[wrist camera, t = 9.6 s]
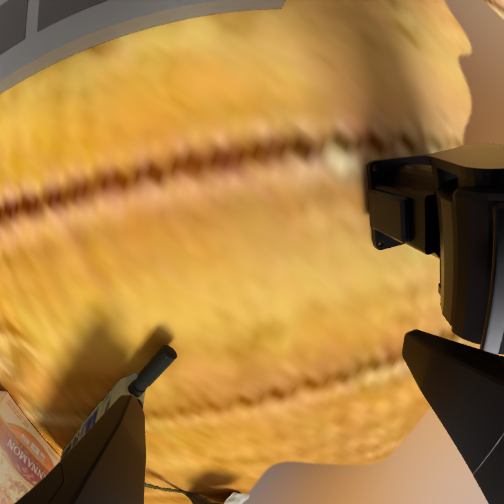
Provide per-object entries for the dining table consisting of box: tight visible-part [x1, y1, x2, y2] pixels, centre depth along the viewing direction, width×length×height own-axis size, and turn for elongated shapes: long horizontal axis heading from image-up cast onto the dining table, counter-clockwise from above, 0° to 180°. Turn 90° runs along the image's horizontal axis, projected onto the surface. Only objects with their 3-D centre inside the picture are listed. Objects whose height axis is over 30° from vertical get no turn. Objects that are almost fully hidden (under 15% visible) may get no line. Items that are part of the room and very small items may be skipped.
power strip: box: [0, 0, 286, 94], centre depth 11 cm, size 33×10×3 cm, turn 101°
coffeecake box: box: [0, 391, 61, 504], centre depth 14 cm, size 15×7×20 cm, turn 9°
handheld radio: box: [60, 345, 177, 461], centre depth 20 cm, size 7×3×25 cm
